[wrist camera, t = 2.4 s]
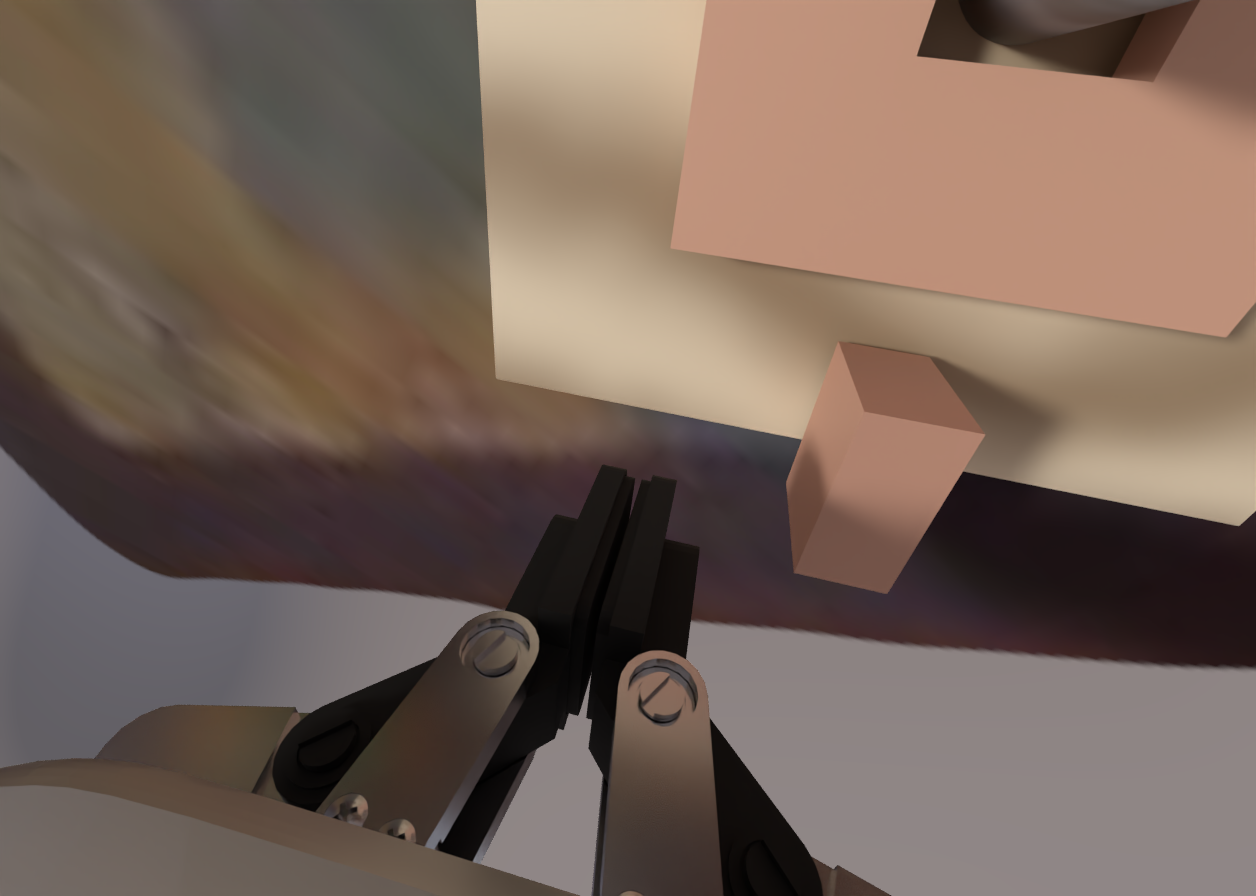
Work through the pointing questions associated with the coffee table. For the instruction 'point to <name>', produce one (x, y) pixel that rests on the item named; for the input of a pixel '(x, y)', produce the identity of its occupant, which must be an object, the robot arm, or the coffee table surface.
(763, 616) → the coffee table surface
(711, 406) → the post board
